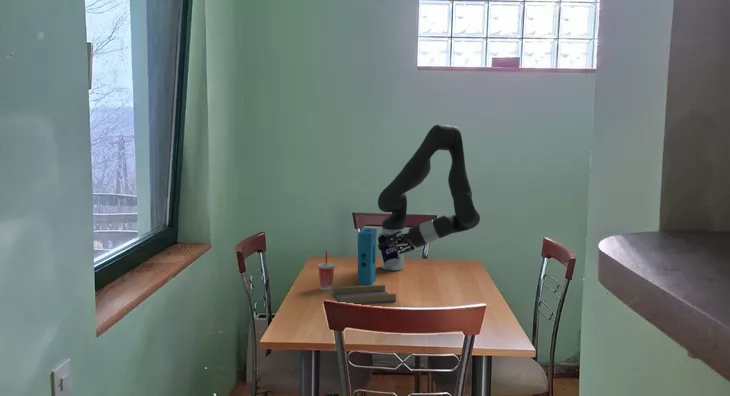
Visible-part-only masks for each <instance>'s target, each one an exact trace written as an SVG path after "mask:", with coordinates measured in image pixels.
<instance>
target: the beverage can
mask: <svg viewBox="0 0 730 396" xmlns="http://www.w3.org/2000/svg"><path fill="white" fill-rule="evenodd" d="M390 235H392V234H391V232H388V231H387V232H382V231H381V232H380V233H379V234H378V238H377V241H378V244H381V243H383V242H386V241H387V237H388V236H390ZM391 239H392V238H391ZM380 253H381V258H382V257H383V261H384V264H385V265H386V266H388V267H393V266H396V265H397V264H398V262H399V261H400V260H399V256H398V252H397V248H396V246H390V247H388V248H385V249H383V250H380Z"/></svg>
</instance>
